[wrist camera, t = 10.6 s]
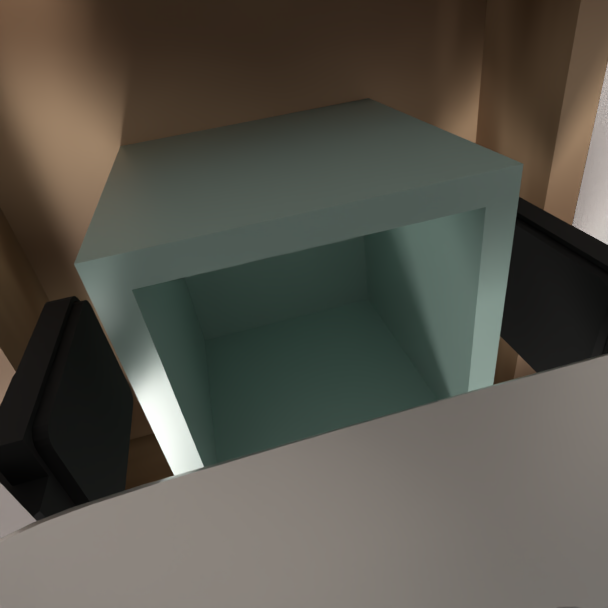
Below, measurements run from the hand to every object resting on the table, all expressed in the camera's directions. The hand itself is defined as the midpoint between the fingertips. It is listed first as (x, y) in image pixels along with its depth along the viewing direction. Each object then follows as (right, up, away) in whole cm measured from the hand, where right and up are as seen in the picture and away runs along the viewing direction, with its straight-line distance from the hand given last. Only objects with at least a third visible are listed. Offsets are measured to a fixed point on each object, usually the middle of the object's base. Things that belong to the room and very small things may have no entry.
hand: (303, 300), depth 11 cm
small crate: (-1, +2, +4) cm, 4 cm away
